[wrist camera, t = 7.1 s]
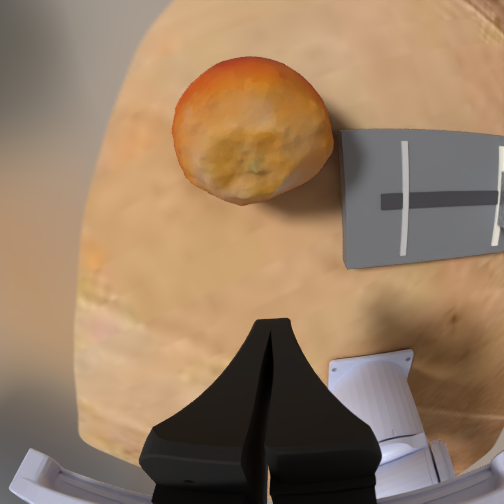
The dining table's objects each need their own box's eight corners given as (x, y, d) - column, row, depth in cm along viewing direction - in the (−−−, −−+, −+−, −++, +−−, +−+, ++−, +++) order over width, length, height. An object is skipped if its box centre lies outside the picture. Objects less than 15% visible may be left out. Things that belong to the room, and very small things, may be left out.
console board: (510, 242, 19) (524, 253, 17) (342, 259, 21) (349, 275, 19) (518, 138, 16) (536, 142, 14) (336, 129, 18) (343, 131, 16)
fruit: (308, 29, 14) (343, 77, 9) (317, 133, 20) (340, 217, 16) (173, 52, 15) (133, 113, 10) (206, 148, 21) (192, 234, 17)
